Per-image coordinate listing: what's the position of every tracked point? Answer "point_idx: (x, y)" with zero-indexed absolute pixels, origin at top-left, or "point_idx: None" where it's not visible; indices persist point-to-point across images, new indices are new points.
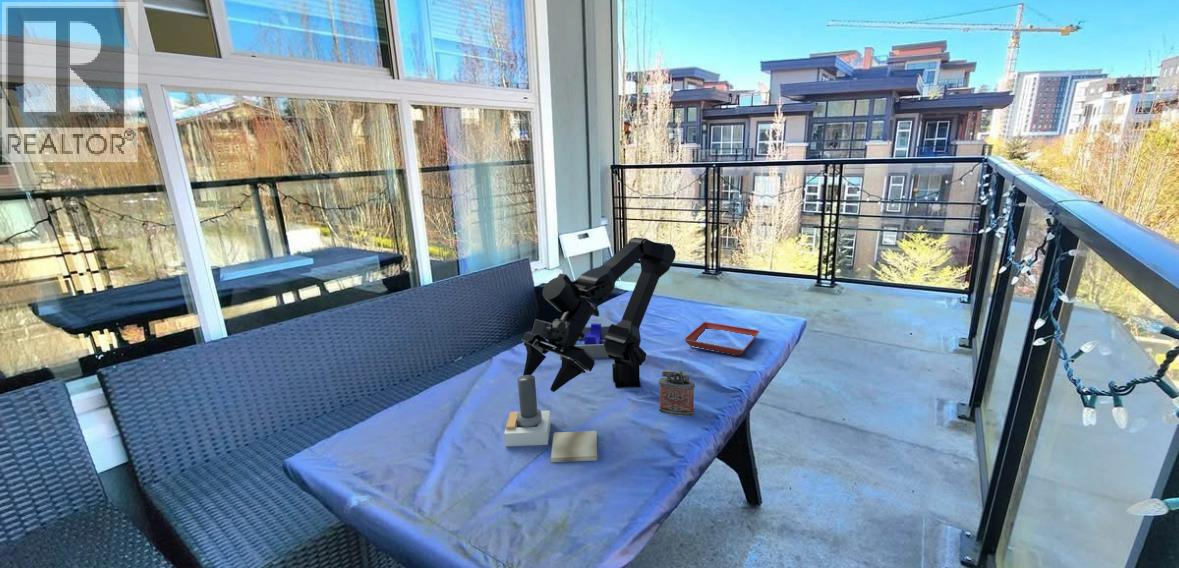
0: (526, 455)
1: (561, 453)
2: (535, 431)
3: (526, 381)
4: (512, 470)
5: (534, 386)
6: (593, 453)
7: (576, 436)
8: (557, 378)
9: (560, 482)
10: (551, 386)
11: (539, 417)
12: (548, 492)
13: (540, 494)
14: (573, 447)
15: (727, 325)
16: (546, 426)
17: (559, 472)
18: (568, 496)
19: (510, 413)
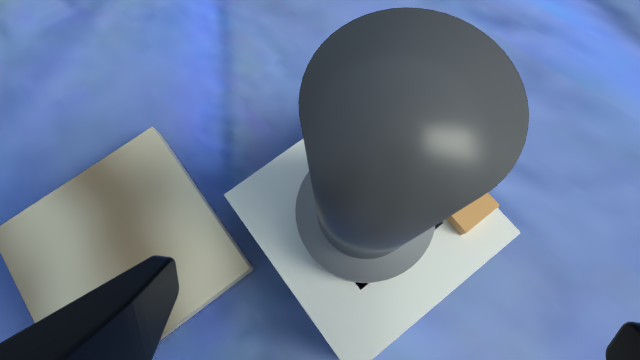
0: (266, 116)
1: (130, 166)
2: (272, 167)
3: (346, 48)
4: (250, 38)
5: (308, 163)
6: (11, 237)
7: None
8: (23, 346)
9: (75, 76)
10: (151, 271)
11: (296, 222)
12: (85, 28)
13: (102, 11)
14: (108, 226)
15: None
16: (255, 229)
17: (104, 110)
18: (22, 45)
19: (487, 196)
